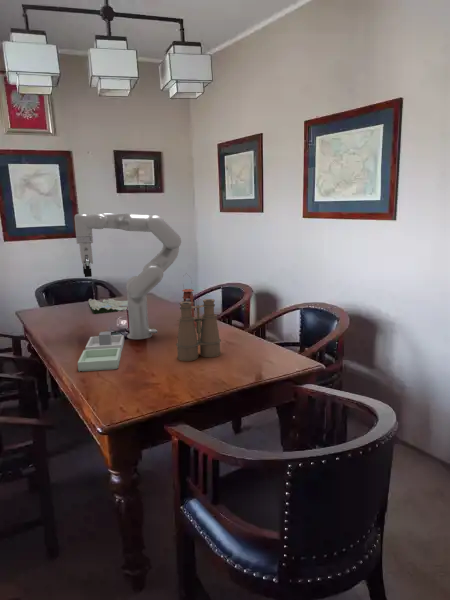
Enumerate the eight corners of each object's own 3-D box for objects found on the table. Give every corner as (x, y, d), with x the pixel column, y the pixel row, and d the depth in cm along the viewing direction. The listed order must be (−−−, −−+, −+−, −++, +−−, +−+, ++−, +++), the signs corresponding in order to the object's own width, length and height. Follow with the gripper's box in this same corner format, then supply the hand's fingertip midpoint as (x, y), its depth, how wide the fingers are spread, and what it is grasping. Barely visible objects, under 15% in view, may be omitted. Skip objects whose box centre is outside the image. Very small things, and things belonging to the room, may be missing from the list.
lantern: (177, 327, 244) (175, 273, 238) (185, 322, 254) (183, 271, 247) (193, 328, 241) (191, 274, 234) (201, 324, 250) (199, 271, 244)
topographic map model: (140, 300, 317) (139, 293, 316) (149, 309, 290) (149, 301, 289) (88, 305, 304) (88, 298, 303) (93, 315, 277) (93, 307, 276)
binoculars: (180, 362, 191) (178, 306, 185) (173, 355, 200) (171, 301, 194) (224, 355, 199) (223, 301, 193) (216, 348, 208) (214, 296, 202)
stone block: (111, 345, 213) (110, 331, 212) (110, 348, 208) (109, 334, 207) (101, 345, 212) (100, 331, 211) (99, 349, 208) (98, 334, 206)
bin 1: (124, 342, 219) (123, 334, 219) (121, 353, 204) (121, 344, 203) (91, 344, 217) (90, 336, 216) (86, 355, 202) (85, 347, 201)
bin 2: (121, 356, 200) (120, 347, 199) (117, 368, 185) (117, 359, 184) (84, 358, 198) (83, 350, 197) (78, 371, 182) (77, 362, 182)
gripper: (94, 241, 205) (97, 277, 209) (91, 238, 221) (94, 272, 224) (77, 241, 202) (80, 278, 206) (75, 239, 218) (78, 273, 222)
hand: (87, 275), depth 215 cm, fingers open, 9 cm apart
